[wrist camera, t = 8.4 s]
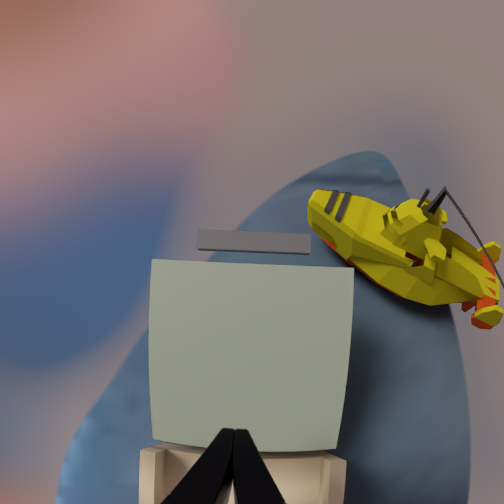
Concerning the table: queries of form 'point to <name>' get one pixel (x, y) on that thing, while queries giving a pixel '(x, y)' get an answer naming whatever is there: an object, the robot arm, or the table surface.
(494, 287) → the toy boat
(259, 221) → the table surface
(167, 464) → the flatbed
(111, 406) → the table surface
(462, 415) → the table surface
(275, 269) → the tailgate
